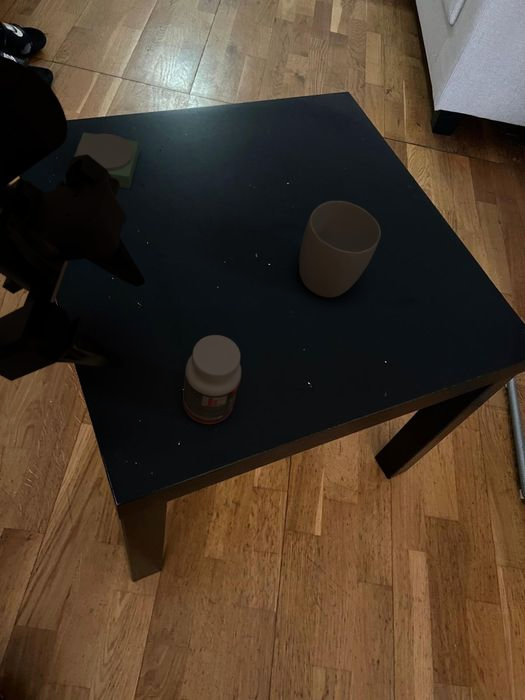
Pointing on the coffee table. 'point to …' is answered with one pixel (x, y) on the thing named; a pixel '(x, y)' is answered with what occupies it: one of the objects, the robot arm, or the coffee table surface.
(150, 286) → the coffee table surface
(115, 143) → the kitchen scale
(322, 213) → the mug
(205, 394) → the pill bottle
